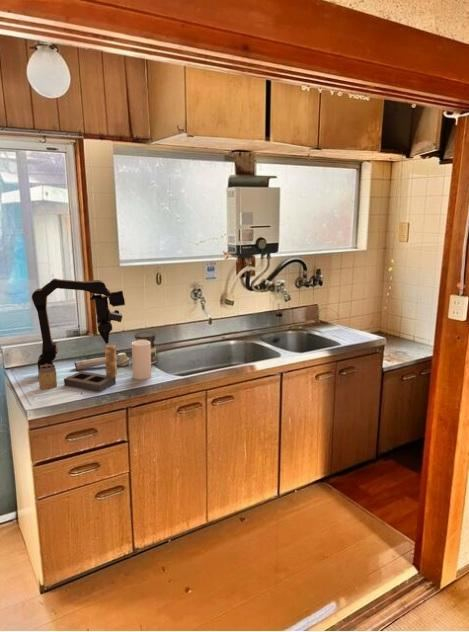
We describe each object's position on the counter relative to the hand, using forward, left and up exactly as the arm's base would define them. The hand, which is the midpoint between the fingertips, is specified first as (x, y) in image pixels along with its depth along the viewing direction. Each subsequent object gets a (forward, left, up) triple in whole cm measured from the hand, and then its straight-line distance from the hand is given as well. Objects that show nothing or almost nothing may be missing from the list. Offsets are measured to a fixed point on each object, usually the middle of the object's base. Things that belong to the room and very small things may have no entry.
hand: (106, 340), depth 214 cm
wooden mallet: (-2, +7, -15) cm, 17 cm away
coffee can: (+19, +9, -15) cm, 26 cm away
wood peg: (+1, -7, -15) cm, 16 cm away
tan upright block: (-26, -14, -15) cm, 33 cm away
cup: (+14, -12, -15) cm, 24 cm away
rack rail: (-9, -16, -15) cm, 23 cm away
